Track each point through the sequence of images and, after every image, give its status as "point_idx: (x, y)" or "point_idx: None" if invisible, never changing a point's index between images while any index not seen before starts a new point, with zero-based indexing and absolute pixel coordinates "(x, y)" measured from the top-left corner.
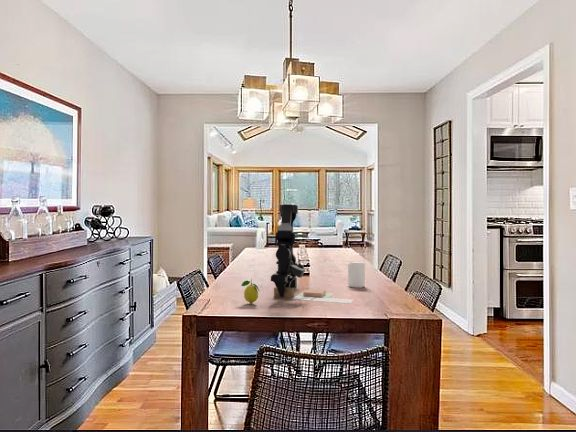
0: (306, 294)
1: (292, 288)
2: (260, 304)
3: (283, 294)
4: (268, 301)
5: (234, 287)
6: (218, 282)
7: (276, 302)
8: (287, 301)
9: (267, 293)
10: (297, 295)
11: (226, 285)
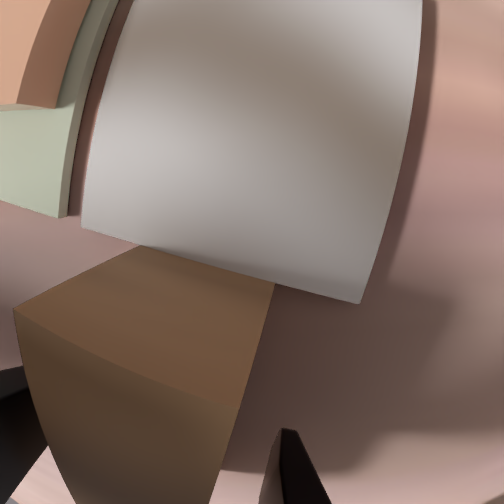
0: (52, 57)
1: (142, 389)
2: (487, 491)
3: (304, 456)
4: (397, 492)
5: (29, 497)
6: None
7: (464, 435)
8: (439, 338)
9: (48, 450)
10: (34, 202)
11: (20, 498)
